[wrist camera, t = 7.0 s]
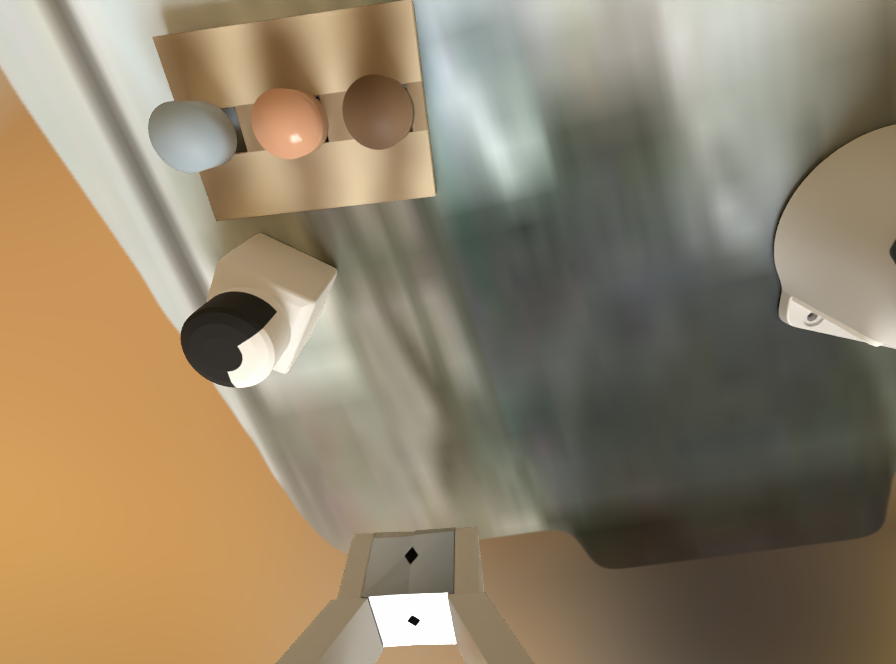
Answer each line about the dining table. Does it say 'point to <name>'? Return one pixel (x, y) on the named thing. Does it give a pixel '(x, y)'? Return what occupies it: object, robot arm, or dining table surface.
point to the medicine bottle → (256, 312)
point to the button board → (321, 74)
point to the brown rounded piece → (378, 111)
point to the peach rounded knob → (289, 122)
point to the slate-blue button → (192, 135)
